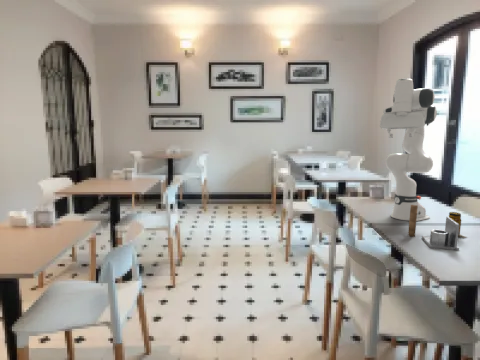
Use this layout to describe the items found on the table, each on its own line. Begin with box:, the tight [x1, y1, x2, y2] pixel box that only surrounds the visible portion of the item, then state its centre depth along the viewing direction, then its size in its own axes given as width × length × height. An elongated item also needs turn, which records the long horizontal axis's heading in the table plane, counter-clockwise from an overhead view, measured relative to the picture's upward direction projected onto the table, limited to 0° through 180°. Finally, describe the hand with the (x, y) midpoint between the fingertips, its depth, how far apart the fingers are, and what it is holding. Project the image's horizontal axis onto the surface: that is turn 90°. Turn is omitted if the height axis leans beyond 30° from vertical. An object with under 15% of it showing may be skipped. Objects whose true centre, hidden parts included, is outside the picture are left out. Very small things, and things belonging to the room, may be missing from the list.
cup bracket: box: [421, 216, 460, 251], centre depth 170 cm, size 12×14×12 cm
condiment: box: [448, 211, 466, 239], centre depth 184 cm, size 7×8×12 cm
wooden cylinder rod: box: [407, 205, 418, 238], centre depth 182 cm, size 3×3×16 cm
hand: (400, 137), depth 179 cm, fingers open, 8 cm apart
